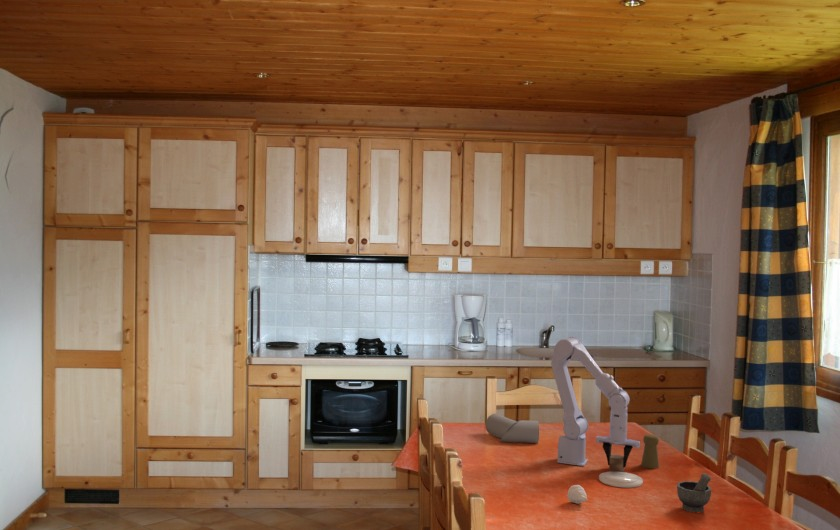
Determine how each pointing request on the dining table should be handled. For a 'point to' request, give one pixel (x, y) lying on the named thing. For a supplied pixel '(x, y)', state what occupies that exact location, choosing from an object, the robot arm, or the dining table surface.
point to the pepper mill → (650, 452)
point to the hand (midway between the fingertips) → (617, 465)
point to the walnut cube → (616, 463)
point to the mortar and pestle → (694, 494)
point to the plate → (621, 479)
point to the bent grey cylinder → (512, 429)
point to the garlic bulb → (577, 494)
